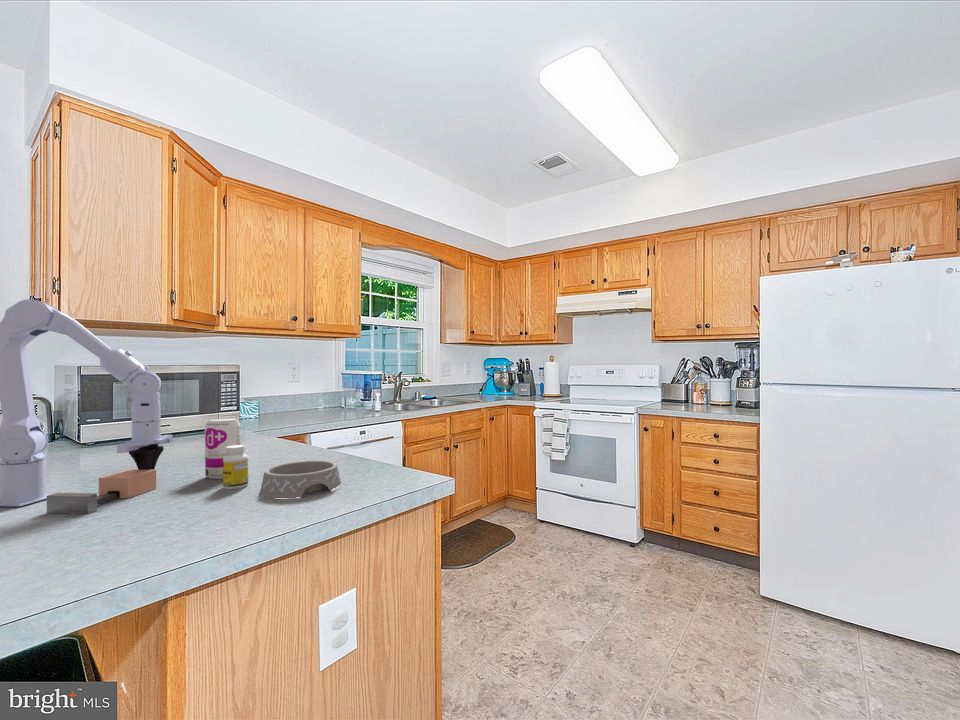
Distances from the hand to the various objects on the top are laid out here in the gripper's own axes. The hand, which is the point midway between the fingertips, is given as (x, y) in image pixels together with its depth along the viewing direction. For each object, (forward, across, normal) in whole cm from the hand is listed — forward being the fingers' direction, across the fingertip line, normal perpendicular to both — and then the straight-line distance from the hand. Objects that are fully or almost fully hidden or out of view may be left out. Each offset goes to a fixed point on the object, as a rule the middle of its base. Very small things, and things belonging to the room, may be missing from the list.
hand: (146, 477), depth 112 cm
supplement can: (+3, +11, -12) cm, 17 cm away
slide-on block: (+2, -5, 0) cm, 6 cm away
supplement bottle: (+3, +1, -22) cm, 22 cm away
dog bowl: (+3, +1, -39) cm, 39 cm away
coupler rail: (+2, -13, 0) cm, 13 cm away
